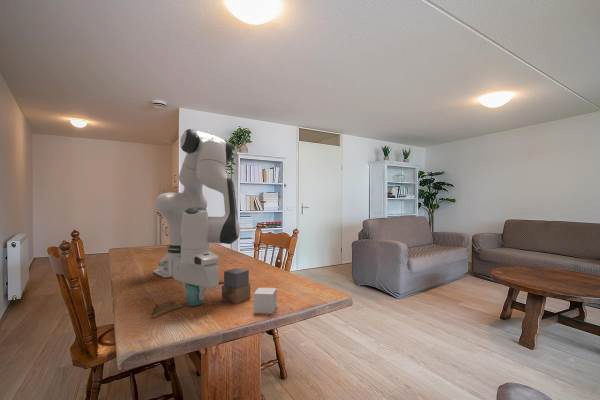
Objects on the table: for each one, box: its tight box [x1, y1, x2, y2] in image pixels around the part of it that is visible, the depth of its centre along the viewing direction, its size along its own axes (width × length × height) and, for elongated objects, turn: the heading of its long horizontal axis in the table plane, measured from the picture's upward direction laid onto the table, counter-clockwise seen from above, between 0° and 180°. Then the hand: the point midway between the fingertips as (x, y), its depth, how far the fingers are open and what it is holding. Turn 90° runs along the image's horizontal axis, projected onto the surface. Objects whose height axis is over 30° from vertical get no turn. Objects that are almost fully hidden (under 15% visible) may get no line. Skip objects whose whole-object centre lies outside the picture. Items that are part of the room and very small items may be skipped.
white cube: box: [253, 287, 278, 315], centre depth 87 cm, size 6×6×6 cm
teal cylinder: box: [186, 284, 204, 307], centre depth 92 cm, size 5×5×6 cm
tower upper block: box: [223, 267, 250, 289], centre depth 97 cm, size 6×6×5 cm
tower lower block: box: [221, 283, 251, 304], centre depth 97 cm, size 7×7×5 cm
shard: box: [151, 299, 182, 319], centre depth 87 cm, size 11×8×2 cm
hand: (194, 297), depth 92 cm, fingers closed on teal cylinder, 5 cm apart
